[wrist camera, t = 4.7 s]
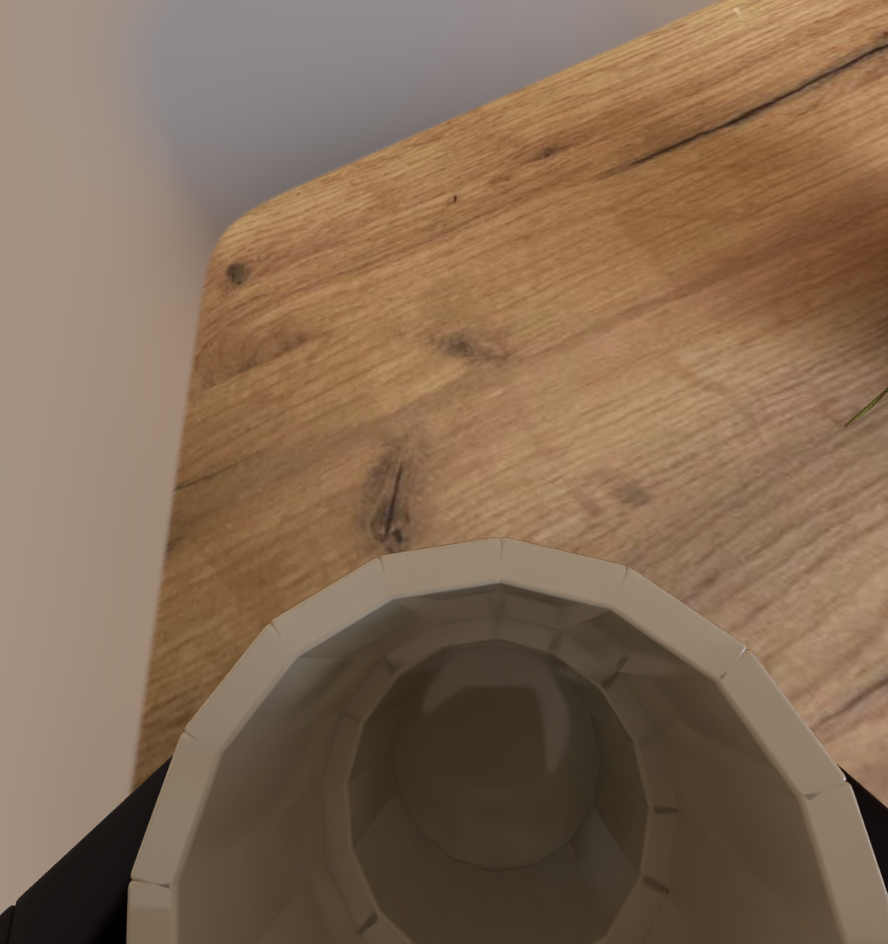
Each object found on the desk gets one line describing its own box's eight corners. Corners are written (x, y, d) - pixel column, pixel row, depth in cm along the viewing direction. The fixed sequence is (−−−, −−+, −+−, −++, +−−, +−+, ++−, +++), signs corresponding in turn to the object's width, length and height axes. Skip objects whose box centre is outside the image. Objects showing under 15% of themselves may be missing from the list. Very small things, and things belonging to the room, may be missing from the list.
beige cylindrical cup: (530, 978, 13) (623, 1855, 3) (312, 774, 15) (-26, 987, 5) (683, 721, 14) (1049, 845, 5) (466, 562, 16) (422, 425, 7)
